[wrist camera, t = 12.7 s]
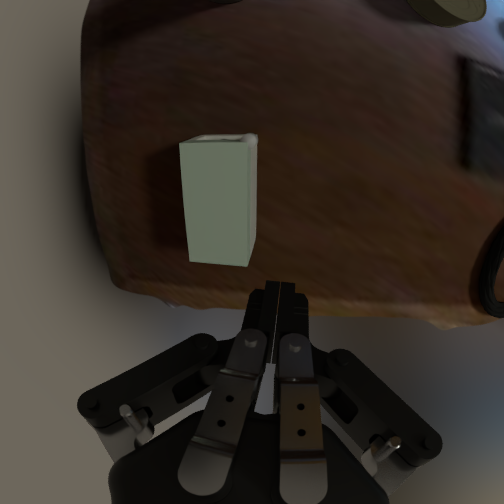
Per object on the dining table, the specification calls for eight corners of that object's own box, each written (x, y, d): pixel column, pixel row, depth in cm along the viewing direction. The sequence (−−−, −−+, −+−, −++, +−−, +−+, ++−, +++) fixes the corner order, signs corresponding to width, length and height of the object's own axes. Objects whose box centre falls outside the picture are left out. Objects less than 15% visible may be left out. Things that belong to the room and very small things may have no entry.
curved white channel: (201, 134, 37) (187, 140, 32) (257, 134, 36) (251, 139, 31) (206, 234, 45) (196, 251, 40) (255, 237, 44) (250, 255, 40)
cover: (186, 133, 32) (178, 136, 30) (258, 132, 31) (255, 134, 29) (195, 252, 40) (189, 261, 38) (256, 257, 39) (254, 267, 37)
